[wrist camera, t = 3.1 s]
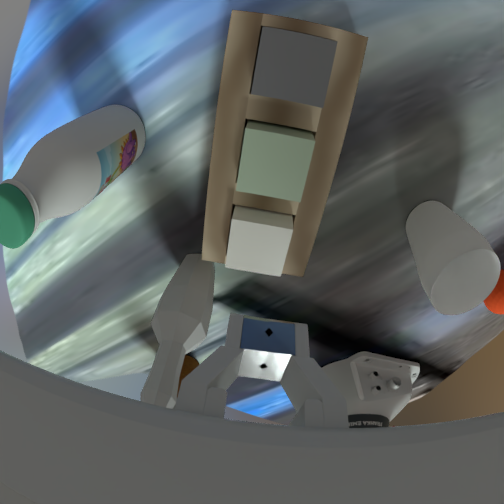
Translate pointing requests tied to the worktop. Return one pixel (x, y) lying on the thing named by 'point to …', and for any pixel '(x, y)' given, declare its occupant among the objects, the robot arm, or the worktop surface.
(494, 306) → the clementine
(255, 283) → the worktop surface
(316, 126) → the oak key console
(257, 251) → the off-white key
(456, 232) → the cup
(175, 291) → the faceted bottle
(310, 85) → the charcoal key
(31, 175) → the milk bottle
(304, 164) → the sage green key
